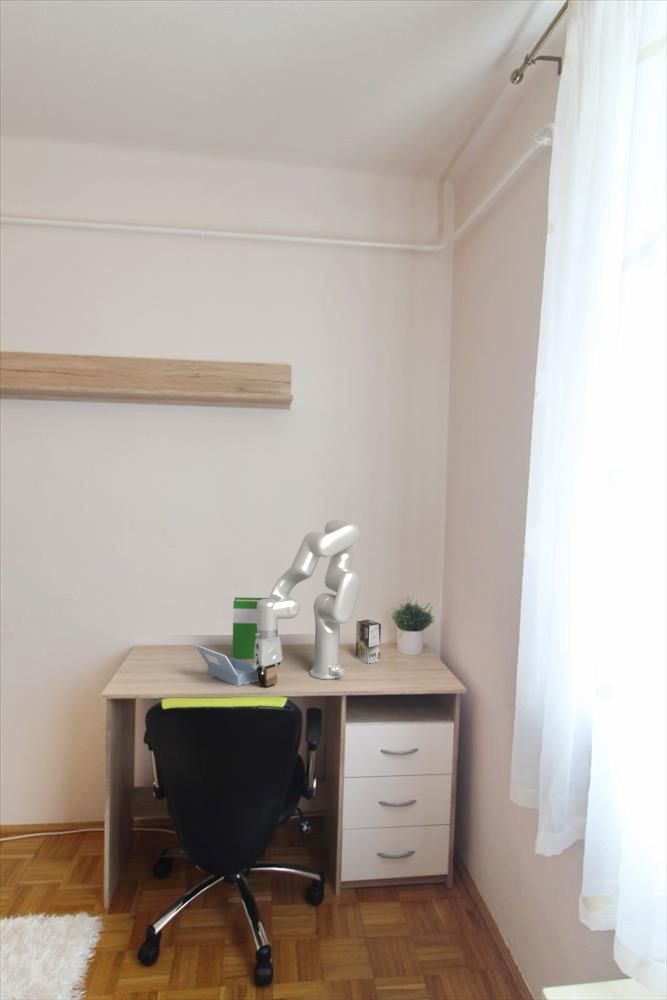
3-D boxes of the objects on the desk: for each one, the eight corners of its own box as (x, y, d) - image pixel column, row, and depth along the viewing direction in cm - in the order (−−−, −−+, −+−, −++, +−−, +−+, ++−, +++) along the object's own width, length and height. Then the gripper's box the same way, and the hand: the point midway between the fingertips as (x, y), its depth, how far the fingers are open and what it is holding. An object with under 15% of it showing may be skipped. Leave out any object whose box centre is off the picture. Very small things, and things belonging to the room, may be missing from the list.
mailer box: (262, 679, 251) (263, 668, 251) (237, 686, 243) (237, 675, 242) (232, 667, 264) (233, 657, 263) (207, 674, 255) (208, 664, 255)
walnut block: (277, 682, 245) (277, 666, 245) (266, 686, 241) (266, 670, 241) (268, 679, 248) (268, 663, 248) (257, 682, 245) (257, 666, 244)
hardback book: (232, 658, 275) (233, 601, 273) (233, 653, 282) (234, 597, 281) (275, 659, 276) (276, 602, 275) (275, 653, 284) (276, 598, 282)
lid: (226, 655, 238) (224, 656, 237) (237, 675, 242) (236, 676, 242) (196, 644, 250) (195, 645, 250) (208, 663, 255) (207, 664, 254)
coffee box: (380, 662, 277) (381, 623, 276) (368, 664, 273) (369, 625, 272) (367, 656, 285) (368, 618, 283) (354, 658, 281) (356, 620, 280)
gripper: (256, 640, 235) (256, 690, 236) (291, 630, 247) (291, 678, 249) (242, 636, 240) (242, 685, 241) (277, 626, 252) (278, 673, 254)
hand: (267, 681), depth 245 cm, fingers closed on walnut block, 5 cm apart
